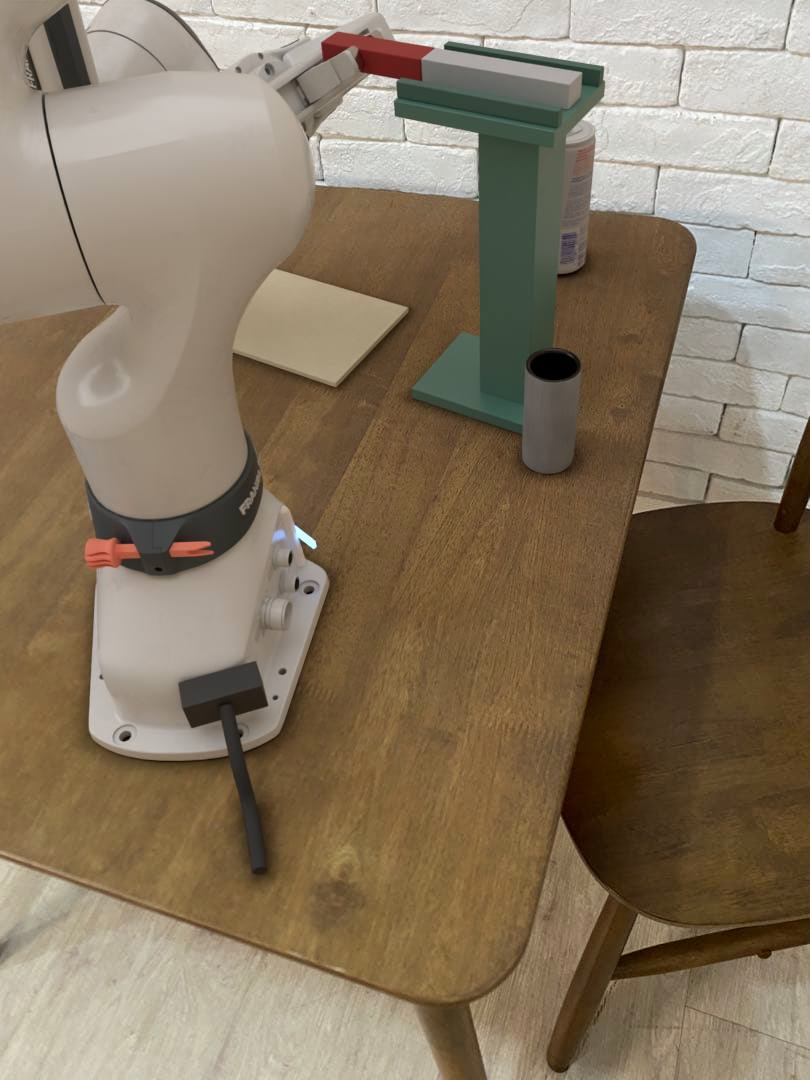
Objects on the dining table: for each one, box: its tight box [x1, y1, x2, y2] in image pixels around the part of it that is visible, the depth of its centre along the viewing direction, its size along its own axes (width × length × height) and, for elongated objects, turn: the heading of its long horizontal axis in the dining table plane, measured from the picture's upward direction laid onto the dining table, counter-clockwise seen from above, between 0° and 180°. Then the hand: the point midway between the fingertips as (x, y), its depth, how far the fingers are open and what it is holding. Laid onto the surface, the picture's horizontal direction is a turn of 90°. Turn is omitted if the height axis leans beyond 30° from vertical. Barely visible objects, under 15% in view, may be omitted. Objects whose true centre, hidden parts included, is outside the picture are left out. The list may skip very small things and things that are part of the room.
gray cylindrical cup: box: [521, 347, 583, 475], centre depth 79 cm, size 4×4×10 cm
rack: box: [393, 40, 606, 436], centre depth 79 cm, size 13×10×29 cm
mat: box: [233, 268, 409, 388], centre depth 100 cm, size 24×14×1 cm, turn 59°
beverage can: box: [557, 119, 597, 275], centre depth 98 cm, size 6×6×15 cm
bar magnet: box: [321, 31, 582, 110], centre depth 70 cm, size 21×2×2 cm, turn 59°
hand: (369, 49), depth 73 cm, fingers closed on bar magnet, 2 cm apart
